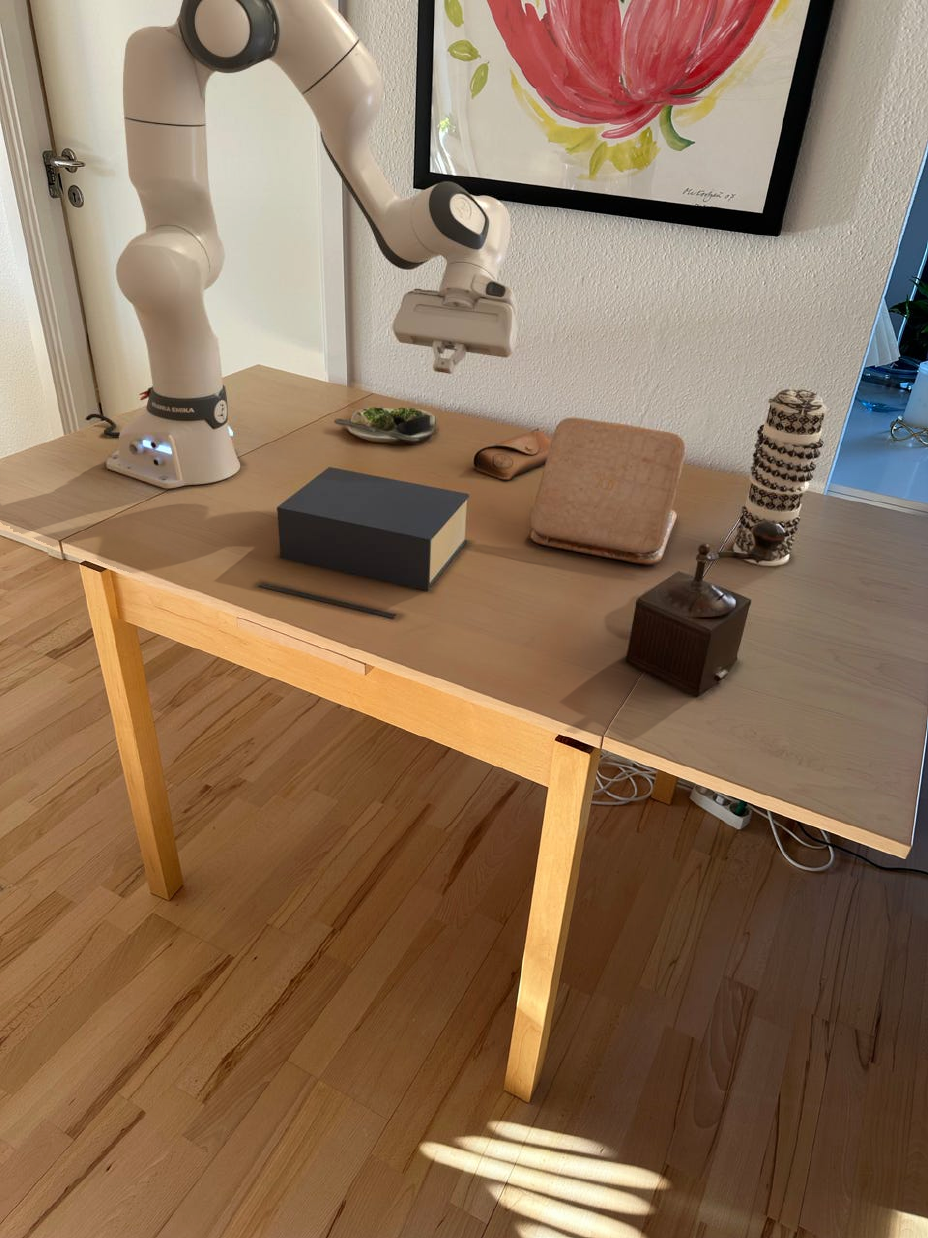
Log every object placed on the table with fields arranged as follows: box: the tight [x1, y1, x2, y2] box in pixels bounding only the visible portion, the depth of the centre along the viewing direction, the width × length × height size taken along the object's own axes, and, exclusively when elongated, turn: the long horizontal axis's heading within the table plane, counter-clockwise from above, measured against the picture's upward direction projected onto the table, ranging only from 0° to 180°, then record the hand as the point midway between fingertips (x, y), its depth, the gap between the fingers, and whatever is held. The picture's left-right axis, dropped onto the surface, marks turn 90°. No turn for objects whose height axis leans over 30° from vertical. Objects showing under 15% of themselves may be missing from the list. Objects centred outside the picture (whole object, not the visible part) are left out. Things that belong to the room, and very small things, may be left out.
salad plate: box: [333, 406, 437, 446], centre depth 174 cm, size 19×18×5 cm
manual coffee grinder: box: [625, 521, 785, 697], centre depth 109 cm, size 16×11×18 cm
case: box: [529, 417, 687, 566], centre depth 139 cm, size 20×21×16 cm
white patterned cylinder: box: [732, 388, 829, 567], centre depth 132 cm, size 9×9×25 cm
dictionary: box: [276, 466, 470, 592], centre depth 132 cm, size 23×16×8 cm
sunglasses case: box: [473, 427, 552, 481], centre depth 164 cm, size 18×7×7 cm, turn 139°
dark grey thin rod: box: [258, 582, 397, 619], centre depth 121 cm, size 20×1×1 cm, turn 70°
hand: (442, 370), depth 144 cm, fingers closed
